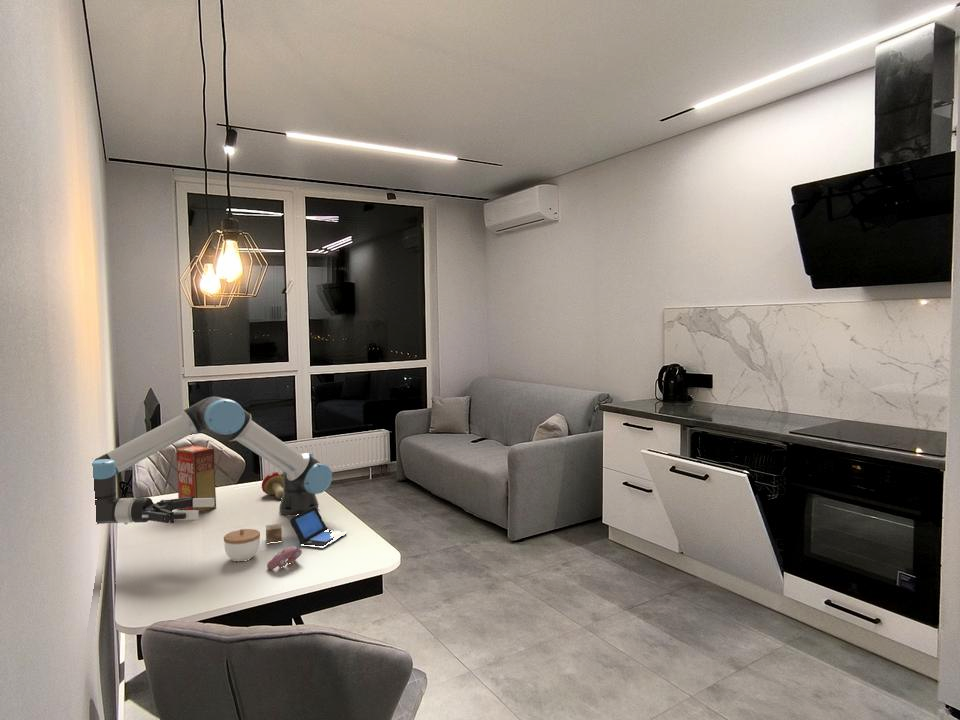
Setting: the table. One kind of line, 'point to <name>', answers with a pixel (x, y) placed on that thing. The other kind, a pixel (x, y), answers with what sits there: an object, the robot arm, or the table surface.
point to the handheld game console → (310, 528)
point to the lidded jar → (242, 544)
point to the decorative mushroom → (273, 484)
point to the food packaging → (196, 474)
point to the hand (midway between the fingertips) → (206, 508)
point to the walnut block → (273, 533)
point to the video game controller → (284, 557)
